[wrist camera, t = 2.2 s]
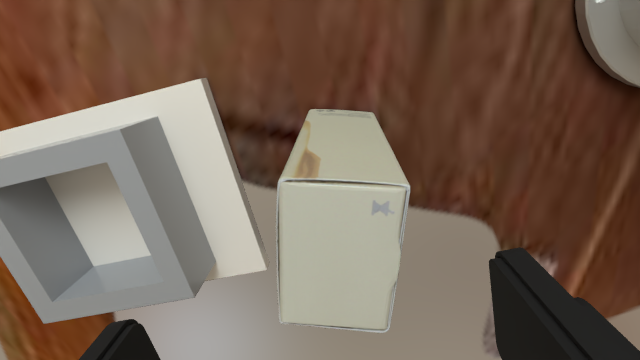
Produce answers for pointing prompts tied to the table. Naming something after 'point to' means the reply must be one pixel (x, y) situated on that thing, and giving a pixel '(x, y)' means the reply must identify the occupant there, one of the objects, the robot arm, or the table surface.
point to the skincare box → (340, 224)
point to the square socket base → (124, 205)
